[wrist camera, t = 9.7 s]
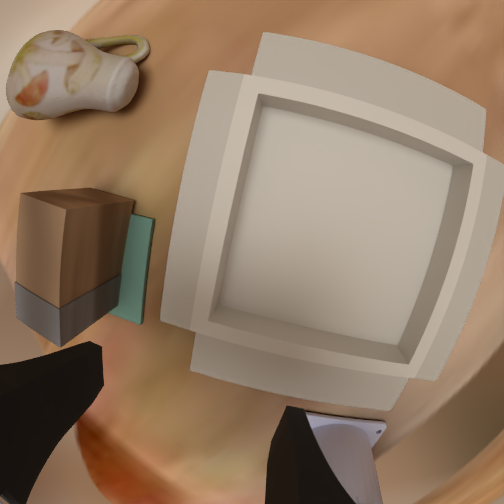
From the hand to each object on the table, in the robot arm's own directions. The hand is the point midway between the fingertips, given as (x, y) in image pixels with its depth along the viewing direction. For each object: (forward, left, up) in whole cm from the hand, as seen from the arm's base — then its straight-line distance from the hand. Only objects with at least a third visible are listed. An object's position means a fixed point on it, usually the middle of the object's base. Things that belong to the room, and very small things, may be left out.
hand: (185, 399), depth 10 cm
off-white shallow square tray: (+6, -5, -10) cm, 13 cm away
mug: (+13, +14, -11) cm, 22 cm away
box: (+1, +10, -10) cm, 14 cm away
